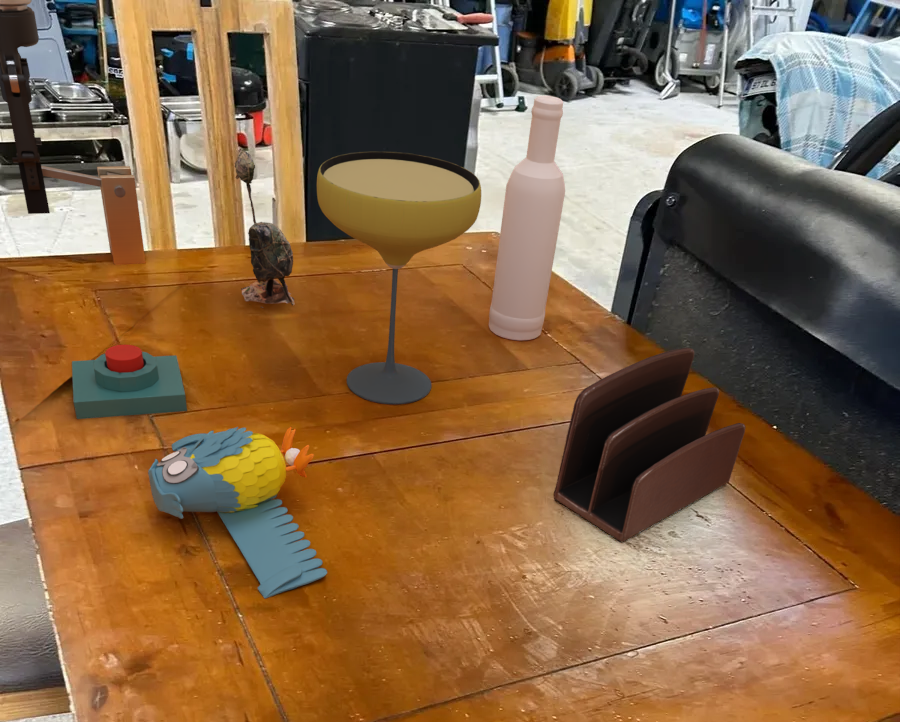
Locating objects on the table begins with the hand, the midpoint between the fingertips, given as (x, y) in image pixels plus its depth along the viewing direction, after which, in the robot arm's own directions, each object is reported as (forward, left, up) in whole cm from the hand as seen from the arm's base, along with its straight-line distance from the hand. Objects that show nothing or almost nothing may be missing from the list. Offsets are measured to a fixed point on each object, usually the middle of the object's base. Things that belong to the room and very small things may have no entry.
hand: (37, 204), depth 122 cm
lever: (+5, +3, +2) cm, 6 cm away
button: (+26, -28, -6) cm, 39 cm away
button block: (+26, -28, -10) cm, 40 cm away
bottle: (+67, +9, -10) cm, 68 cm away
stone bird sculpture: (+32, +3, -10) cm, 34 cm away
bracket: (+9, +6, -10) cm, 15 cm away
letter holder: (+87, -28, -10) cm, 92 cm away
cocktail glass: (+54, -14, -10) cm, 57 cm away
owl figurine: (+46, -46, -10) cm, 66 cm away
